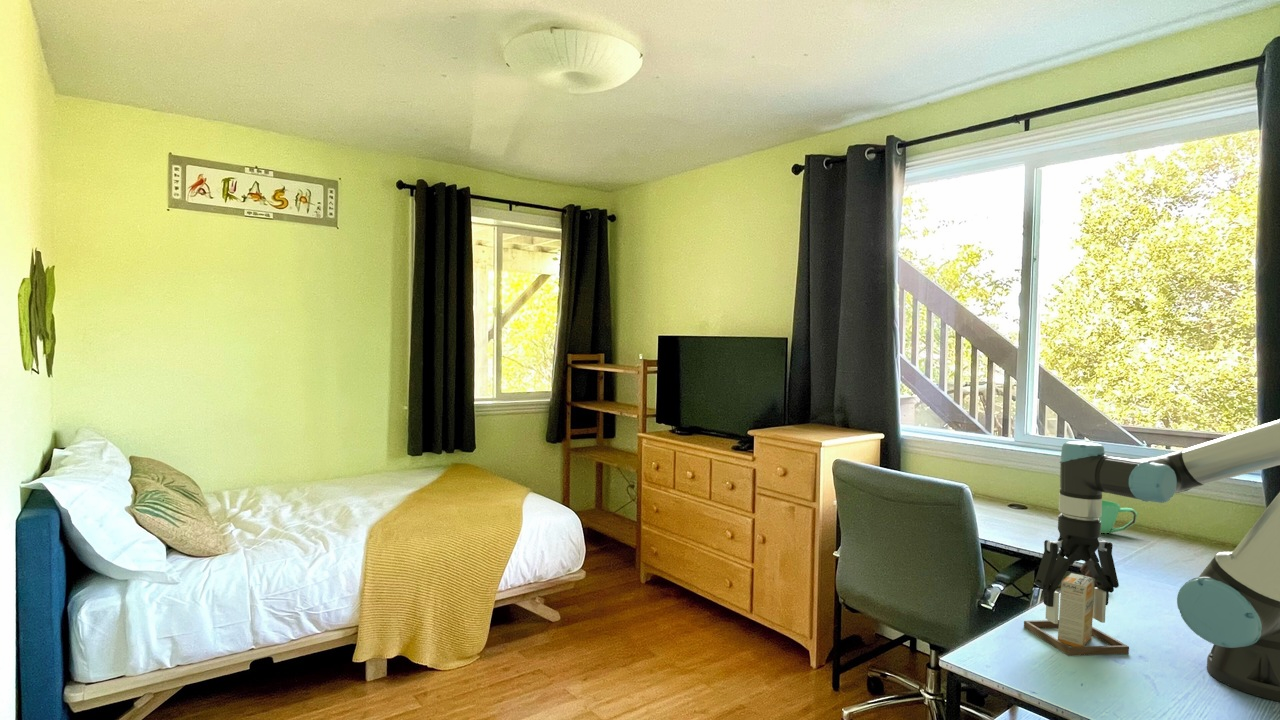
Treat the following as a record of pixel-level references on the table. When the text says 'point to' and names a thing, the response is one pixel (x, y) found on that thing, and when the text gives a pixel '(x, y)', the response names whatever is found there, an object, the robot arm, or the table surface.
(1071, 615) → the supplement box
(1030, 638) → the table surface
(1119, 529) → the mug
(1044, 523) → the table surface
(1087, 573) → the bolt
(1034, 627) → the frame
